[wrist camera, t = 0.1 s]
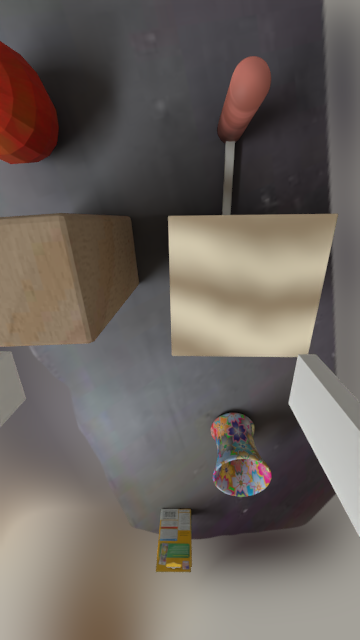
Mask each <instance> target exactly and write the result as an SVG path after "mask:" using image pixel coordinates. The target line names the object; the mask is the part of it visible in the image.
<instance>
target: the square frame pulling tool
mask: <svg viewBox="0 0 360 640" xmlns="http://www.w3.org/2000/svg"><path fill="white" fill-rule="evenodd" d="M270 84H271V73H270V69H269V67H268V65H267V63H266V62H265V61H264V60H263V59H261V58H259V57H256V56H251V57H247V58H245V59H244V60H242V61H241V62H240V63H239V64H238V65H237V67H236V69H235V70H234V73H233V76H232V79H231V82H230V86H229V89H228V92H227V96H226V99H225V103H224V106H223V109H222V113H221V116H220V119H219V123H218V127H217V132H218V136H219V138H220V139H221V141H223V142H224V143H226V145H225V165H224V185H223V205H222V215H230V213H231V196H232V180H233V164H234V148H235V142H236V141H238V140H239V139H240V137H241V135H242V134H243V132H244V131H245V129H246V127H247V126H248V124H249V123H250V121H251V119H252V118H253V116H254V114H255V113H256V111H257V110H258V108H259V106H260V105H261V103H262V102H263V100H264V98H265V97H266V95H267V93H268V91H269V88H270Z"/></svg>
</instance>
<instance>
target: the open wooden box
mask: <svg viewBox="0 0 360 640" xmlns="http://www.w3.org/2000/svg"><path fill="white" fill-rule="evenodd" d="M337 217H338V214H279V215H203V216H168V231H169V267H170V303H171V339H172V356H248V357H298V354H308V351H309V346H310V342H311V337H312V333H313V328H314V323H315V319H316V314H317V310H318V305H319V300H320V296H321V291H322V287H323V282H324V277H325V273H326V268H327V263H328V259H329V254H330V250H331V245H332V240H333V236H334V231H335V227H336V222H337Z"/></svg>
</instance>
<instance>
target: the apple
mask: <svg viewBox="0 0 360 640" xmlns="http://www.w3.org/2000/svg"><path fill="white" fill-rule="evenodd" d="M58 130H59V126H58V119H57V113H56V109H55V107H54V105H53V103H52V101H51V99H50V97H49V95H48V93H47V92H46V90H45V88H44V86H43V84H42V82H41V80H40V78H39V76H38V74H37V73H36V72H35V70H34V69H33V68H32V67H31V66H30V65H29V64H28V63H27V62H26V60H25V59H24V58H23V57H22V56H21V55H20V54H19V53H17V52H16V51H14V50H13V49H11V48H10V47H8V46H7V45H5V44H4V43H2V42H1V41H0V159H1V160H3V161H5V162H8V163H10V164H18V163H32V162H39V161H41V160H43V159H44V158H46V157H48V156H50V154H51V152H52V151H53V149H54V148H55V146H56V145H57V139H58Z"/></svg>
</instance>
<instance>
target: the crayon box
mask: <svg viewBox="0 0 360 640" xmlns="http://www.w3.org/2000/svg"><path fill="white" fill-rule="evenodd" d="M191 556H192V550H191V509H161V519H160V529H159V541H158V551H157V566H156V572H191V567H192V557H191ZM167 567H181V568H175V569H172V568H167Z"/></svg>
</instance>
